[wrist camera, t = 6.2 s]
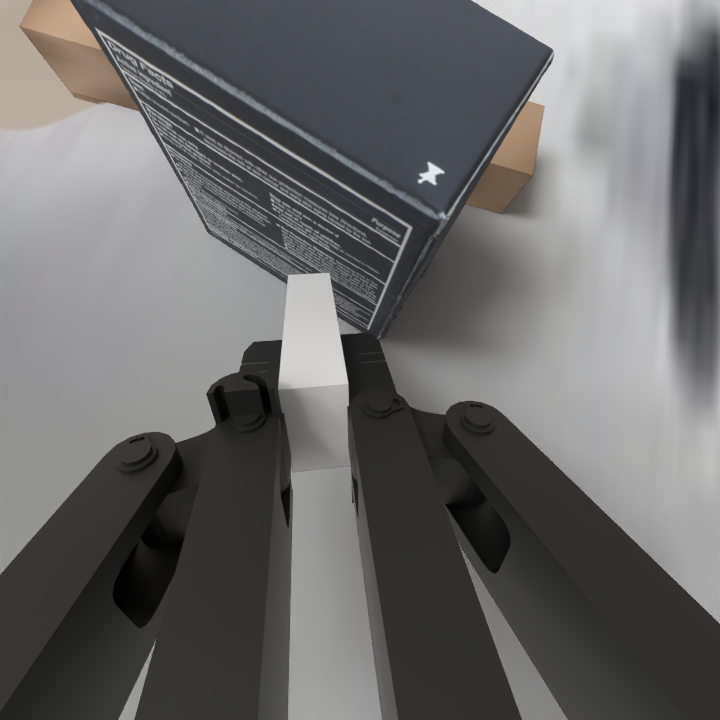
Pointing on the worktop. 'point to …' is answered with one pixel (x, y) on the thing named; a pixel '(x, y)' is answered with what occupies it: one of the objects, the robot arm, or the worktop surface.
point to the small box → (325, 125)
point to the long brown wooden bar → (102, 84)
